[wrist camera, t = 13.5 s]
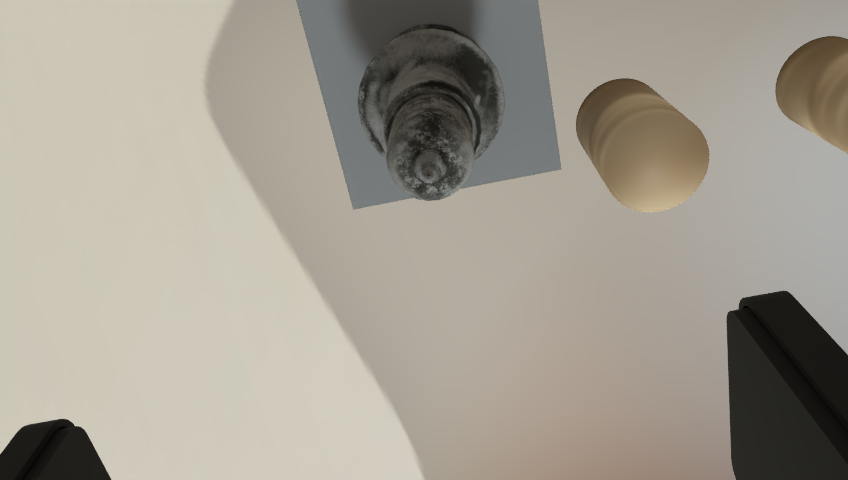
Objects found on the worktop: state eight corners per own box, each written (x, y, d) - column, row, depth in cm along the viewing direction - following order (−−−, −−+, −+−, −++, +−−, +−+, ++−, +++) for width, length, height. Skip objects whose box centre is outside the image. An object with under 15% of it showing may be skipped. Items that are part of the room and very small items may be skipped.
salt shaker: (352, 130, 33) (310, 240, 22) (383, -1, 30) (354, 50, 19) (475, 163, 33) (495, 286, 22) (515, 37, 31) (559, 108, 20)
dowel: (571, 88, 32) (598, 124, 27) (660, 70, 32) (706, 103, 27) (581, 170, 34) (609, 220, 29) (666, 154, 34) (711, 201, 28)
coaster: (297, -7, 31) (294, -5, 30) (528, -59, 30) (529, -59, 29) (354, 204, 35) (353, 209, 34) (559, 165, 34) (561, 169, 33)
